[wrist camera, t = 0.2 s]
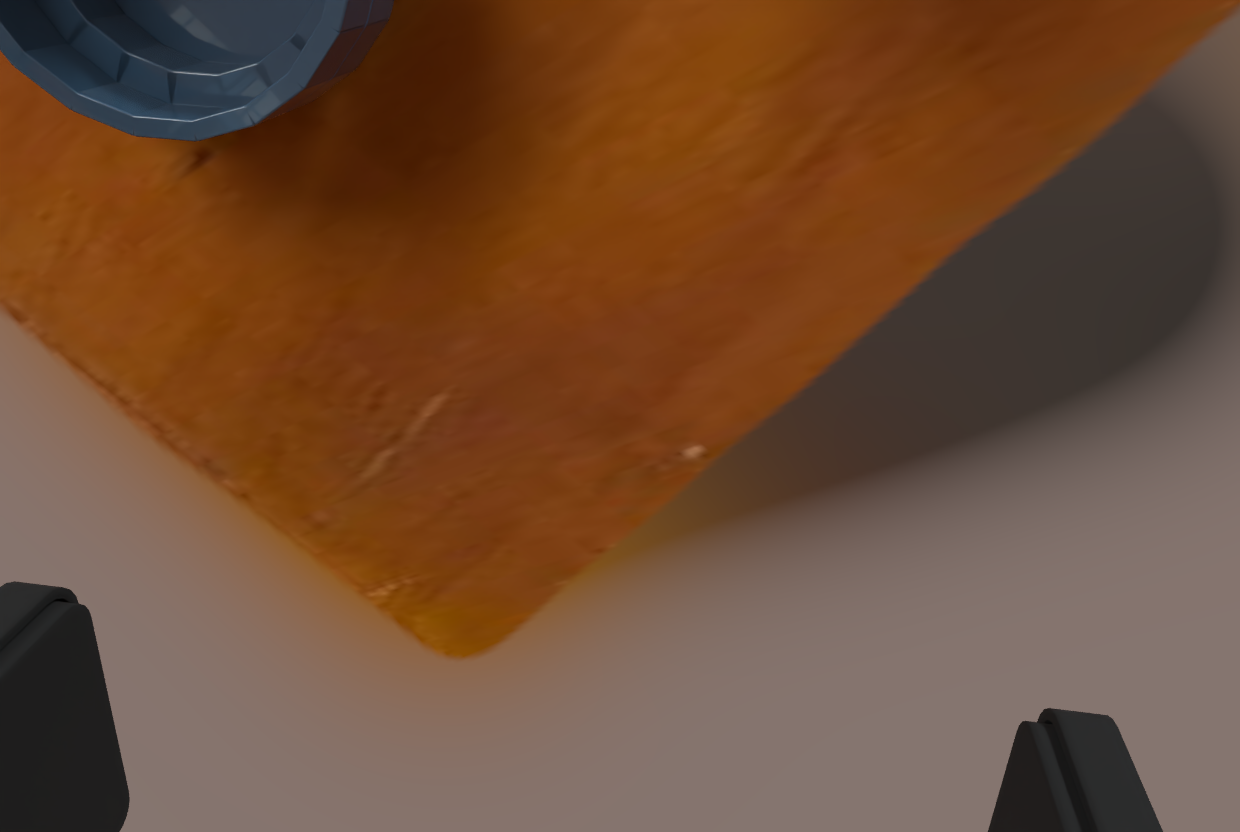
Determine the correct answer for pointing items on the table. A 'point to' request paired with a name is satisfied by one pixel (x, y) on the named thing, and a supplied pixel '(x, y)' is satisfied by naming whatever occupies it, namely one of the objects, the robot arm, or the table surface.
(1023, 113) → the table surface
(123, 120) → the bowl
